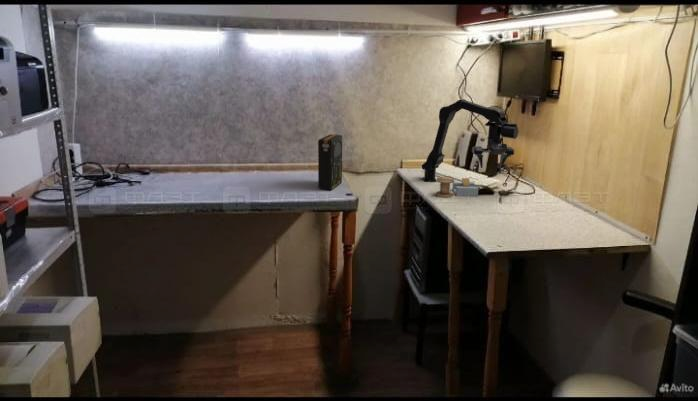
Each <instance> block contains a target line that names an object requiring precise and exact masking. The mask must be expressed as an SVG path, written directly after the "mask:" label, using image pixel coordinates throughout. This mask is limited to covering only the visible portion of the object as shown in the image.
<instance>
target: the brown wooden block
mask: <svg viewBox="0 0 698 401" xmlns="http://www.w3.org/2000/svg"><path fill="white" fill-rule="evenodd" d="M461 182H462V185H461V186H465V187H469V183H470V182H471V181H470V179H469V178H468V177H467V178H466V177H462V178H461Z"/></svg>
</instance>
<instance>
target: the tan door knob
mask: <svg viewBox="0 0 698 401" xmlns="http://www.w3.org/2000/svg"><path fill="white" fill-rule="evenodd" d="M436 180H437V181H436V182H437V183H440V185H439V186H440V187H439V190H437V191H436V192H435V195H436V197H438V198H452V197H453V196H454V192H452V191H450V186H451V184H453V182H455V179H454V178H451V177H446V176H445V177H443V176H442V177H438V178H437V179H436Z"/></svg>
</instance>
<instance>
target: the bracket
mask: <svg viewBox="0 0 698 401" xmlns="http://www.w3.org/2000/svg"><path fill="white" fill-rule="evenodd" d="M461 185H462V181H454V182H453V183H452V186H451V188H452V191H453V194H454V195H455V196H456V197H478V196H479V187H478V186H475V182H474V181H470V183H469V187H465V186H461Z"/></svg>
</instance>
